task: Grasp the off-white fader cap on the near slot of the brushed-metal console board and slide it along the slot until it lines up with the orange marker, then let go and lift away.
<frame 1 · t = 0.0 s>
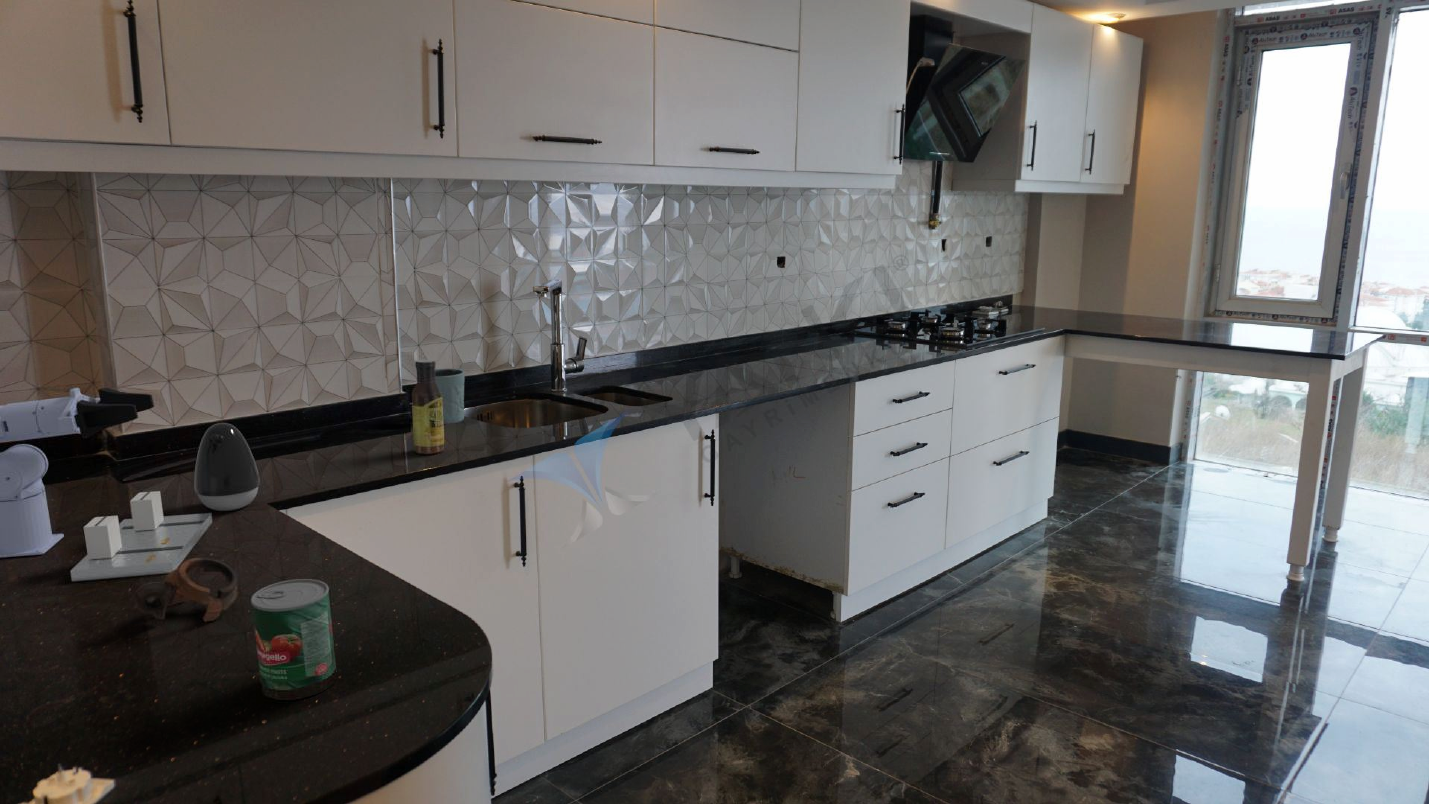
hand: (144, 406, 143), 22 cm above the worktop, tool horizontal, fingers open, 7 cm apart
black egg shape: (230, 507, 163), on the worktop
fader cap: (103, 537, 137), point 4 cm above the worktop, slide at 0.0 cm
canned tomato: (299, 684, 105), on the worktop
far fader cap: (150, 535, 149), resting on console board
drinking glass: (445, 420, 227), on the worktop
console board: (148, 549, 143), on the worktop
sauce bottle: (430, 452, 199), on the worktop
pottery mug: (188, 617, 121), on the worktop
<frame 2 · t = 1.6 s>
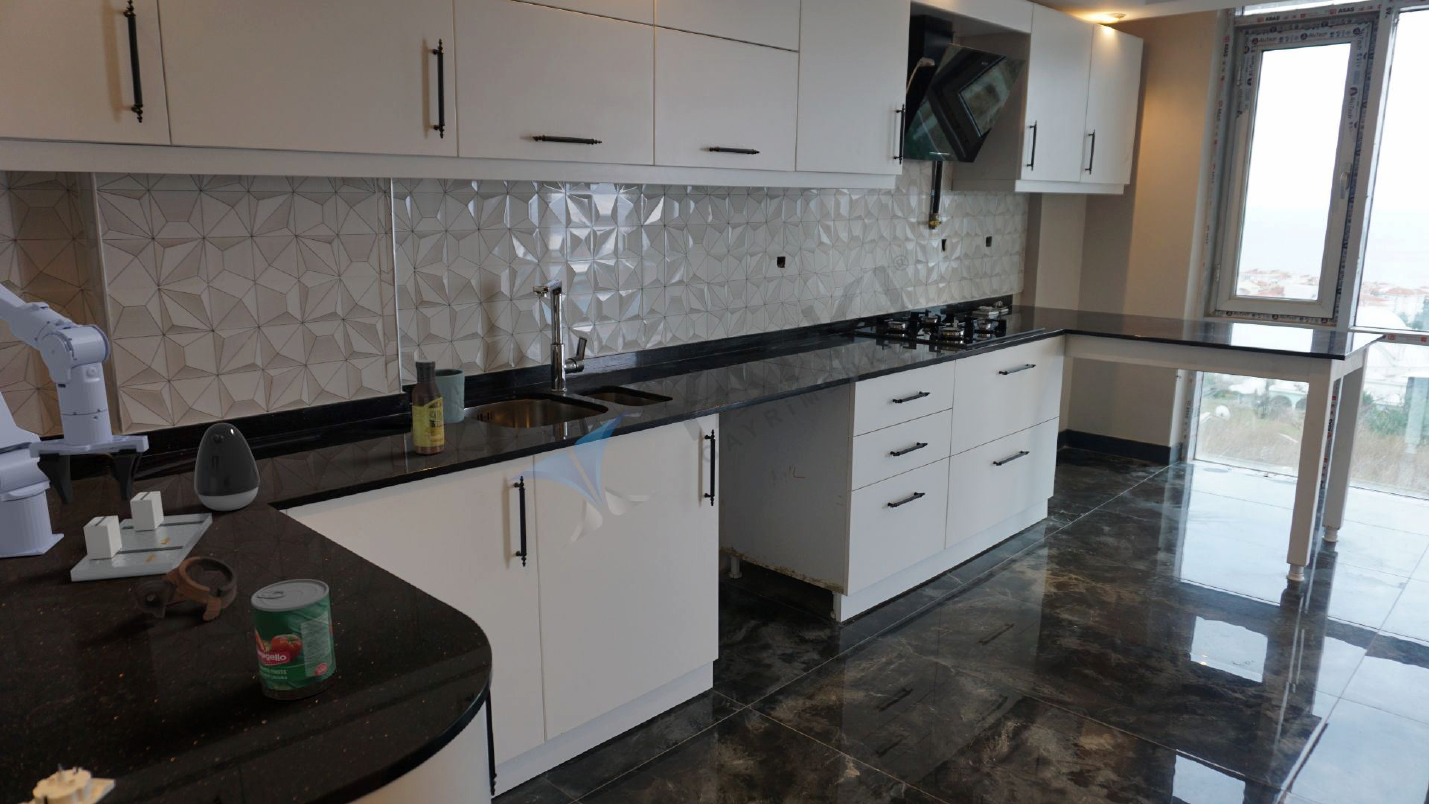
hand: (97, 500, 135), 10 cm above the worktop, tool pointing down, fingers open, 7 cm apart
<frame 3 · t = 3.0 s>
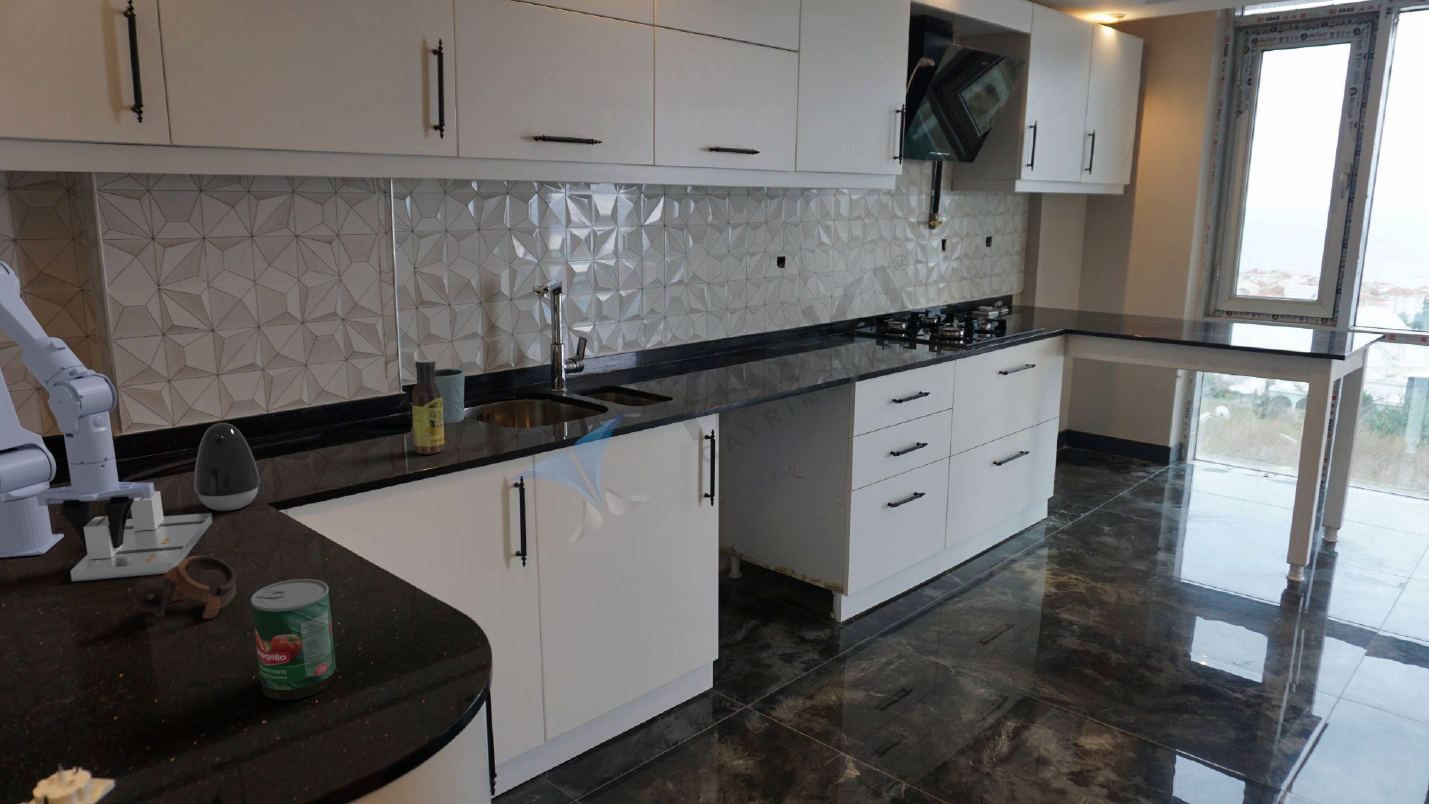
hand: (104, 546, 137), 3 cm above the worktop, tool pointing down, fingers closed on fader cap, 3 cm apart
fader cap: (103, 537, 137), point 4 cm above the worktop, slide at 0.0 cm, touching gripper
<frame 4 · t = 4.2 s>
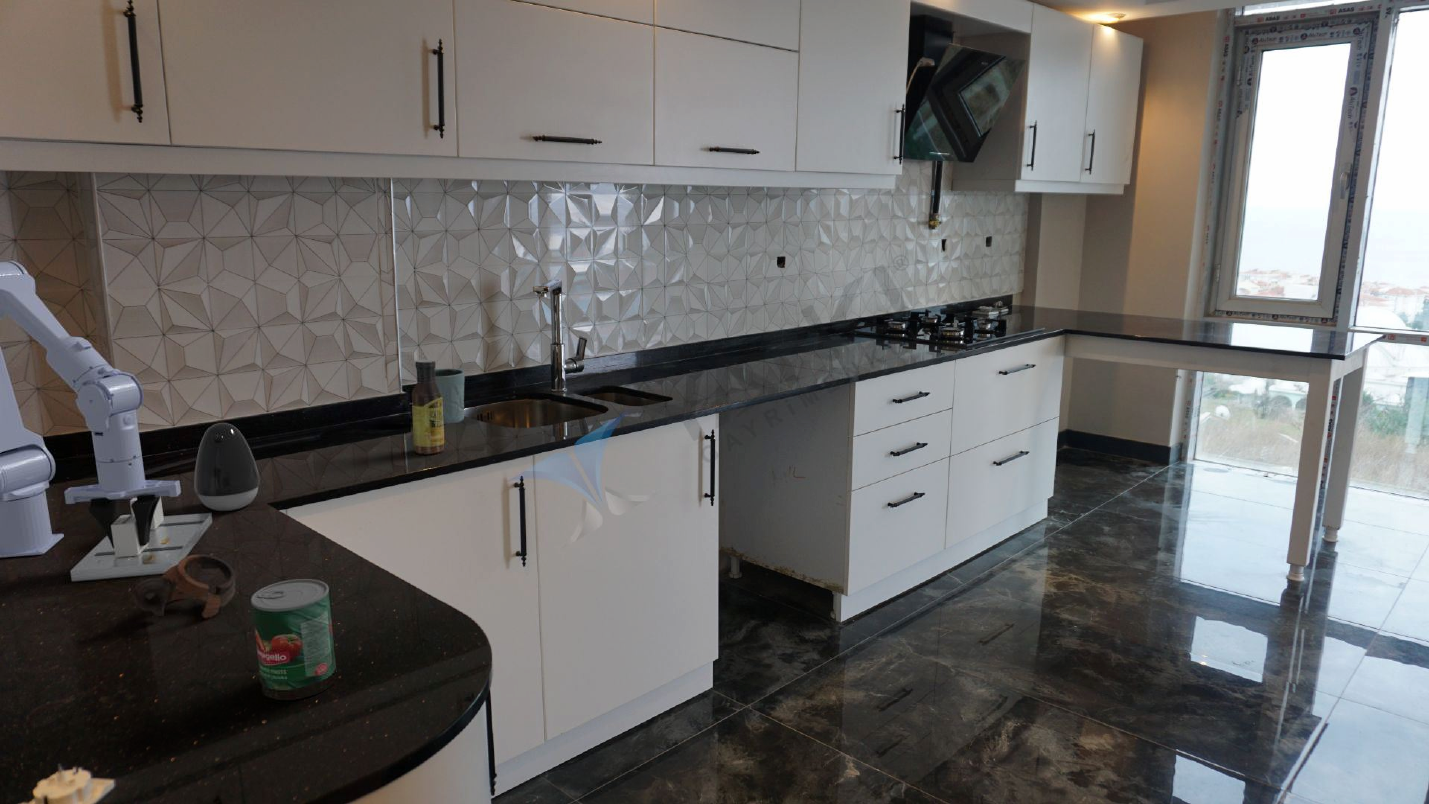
hand: (131, 544, 138), 3 cm above the worktop, tool pointing down, fingers closed on fader cap, 3 cm apart
fader cap: (129, 534, 137), point 4 cm above the worktop, slide at 3.5 cm, touching gripper
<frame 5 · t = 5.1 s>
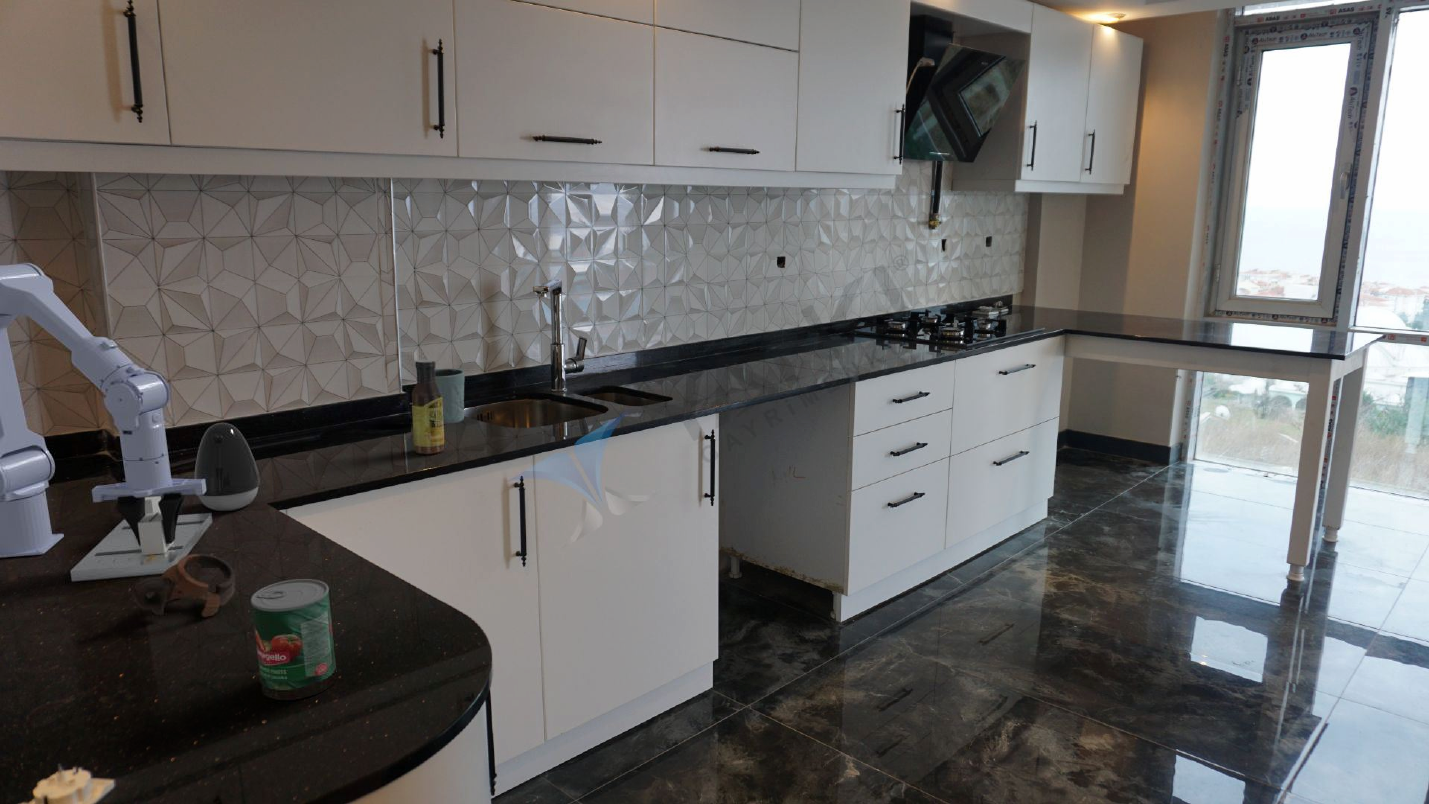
hand: (157, 542, 139), 3 cm above the worktop, tool pointing down, fingers closed on fader cap, 3 cm apart
fader cap: (155, 532, 138), point 4 cm above the worktop, slide at 7.0 cm, touching gripper
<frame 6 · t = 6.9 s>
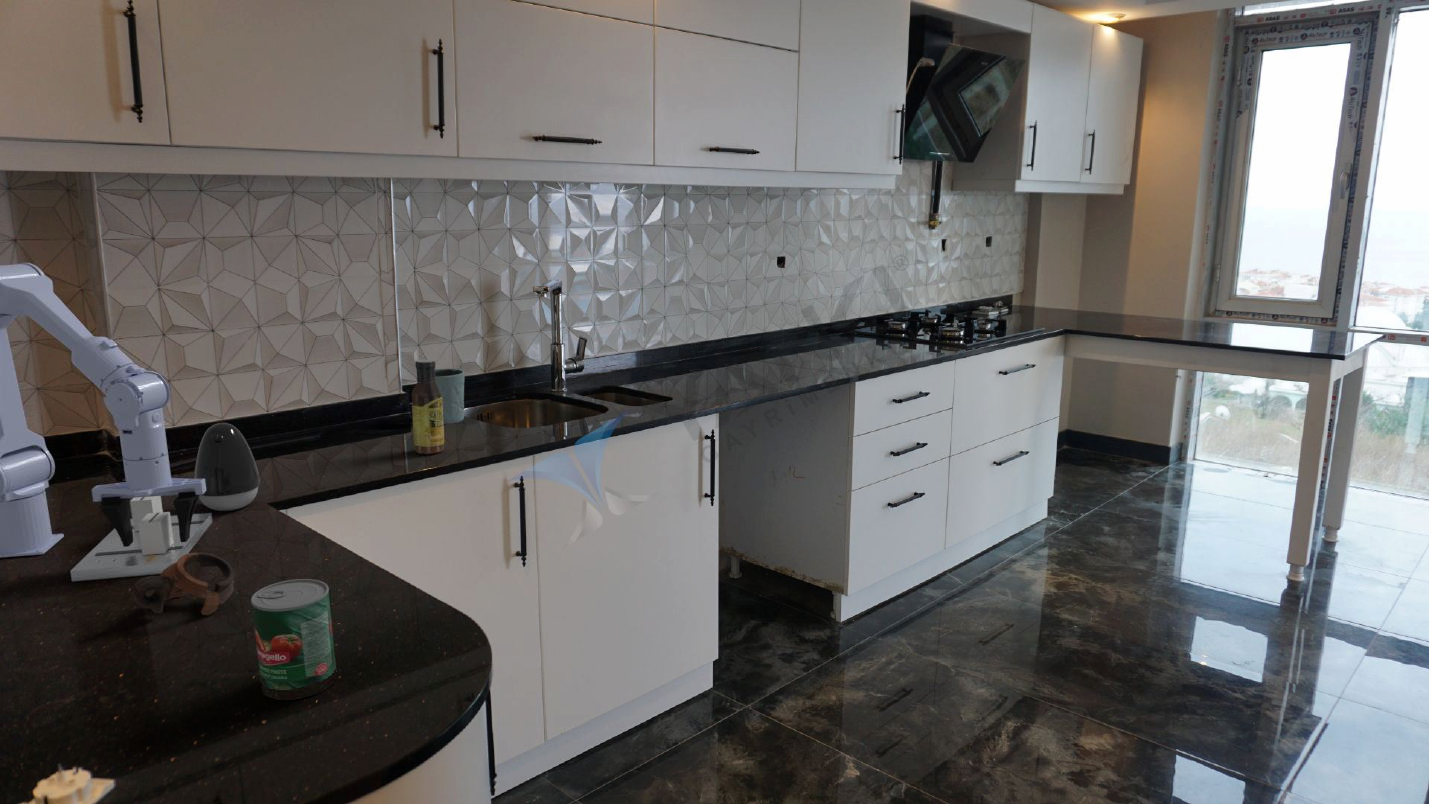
hand: (157, 542, 139), 3 cm above the worktop, tool pointing down, fingers open, 7 cm apart
fader cap: (156, 532, 138), point 4 cm above the worktop, slide at 7.0 cm
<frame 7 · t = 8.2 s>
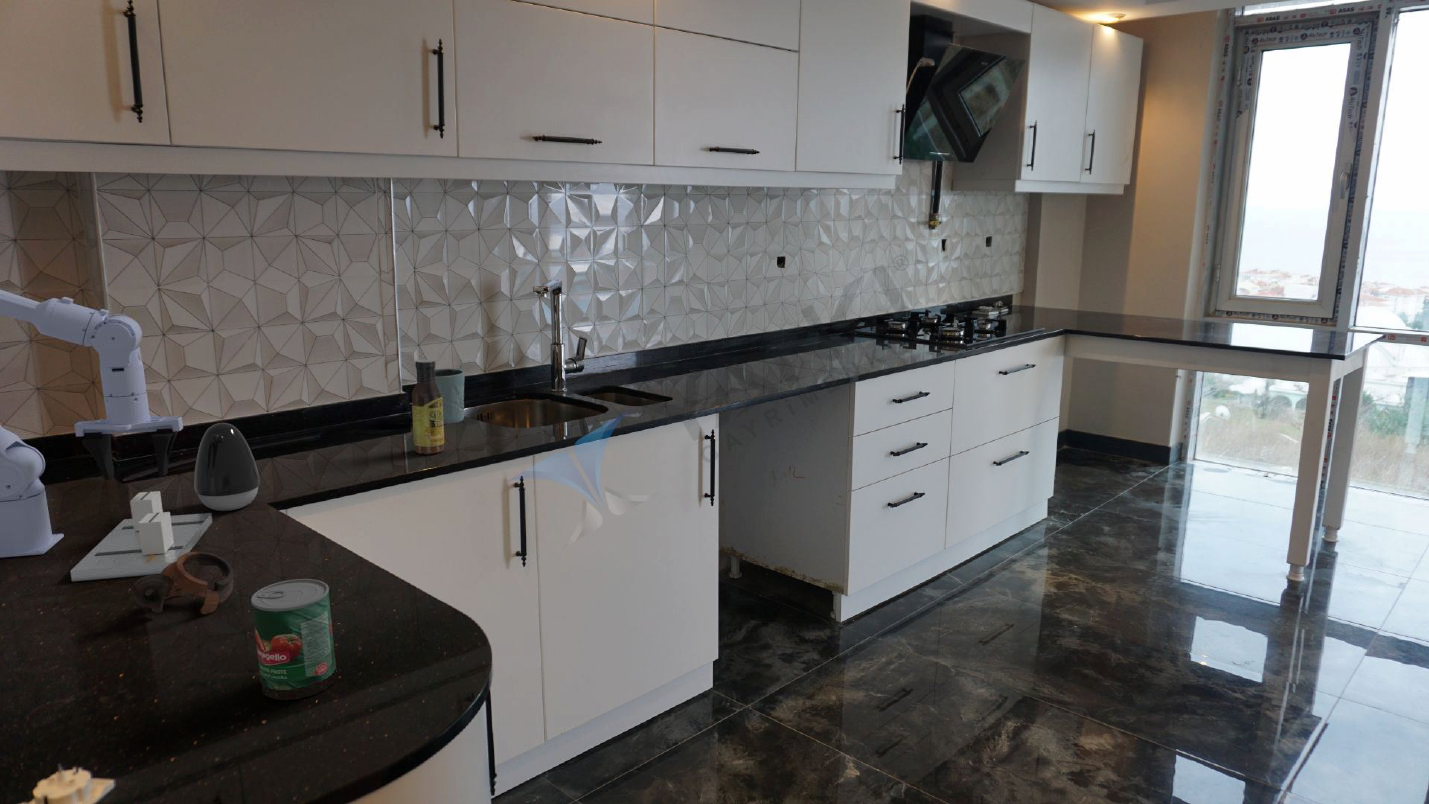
hand: (136, 476, 147), 10 cm above the worktop, tool pointing down, fingers open, 7 cm apart
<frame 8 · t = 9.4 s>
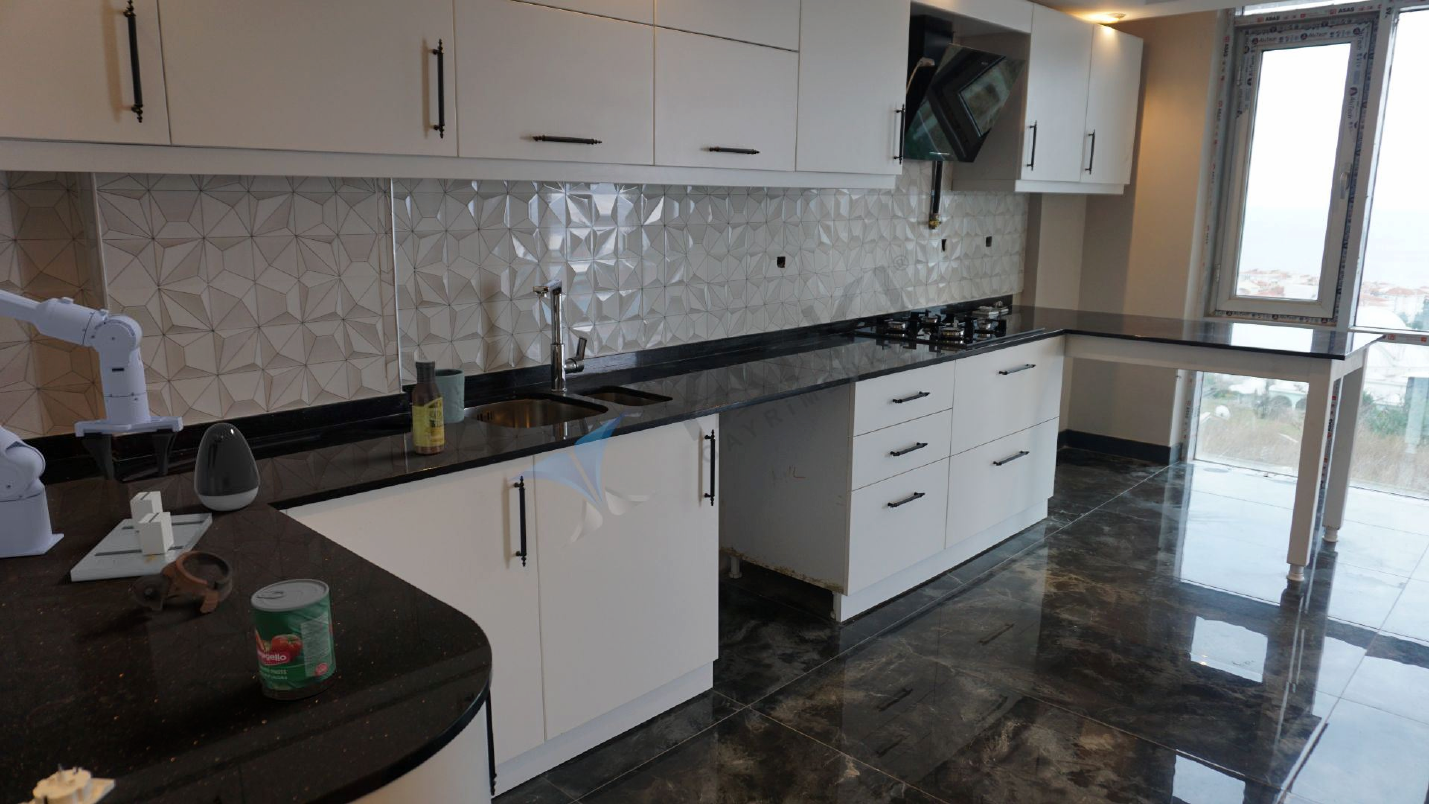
hand: (136, 476, 147), 10 cm above the worktop, tool pointing down, fingers open, 7 cm apart
at the end: fader cap slide at 7.0 cm; the gripper is holding nothing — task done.
